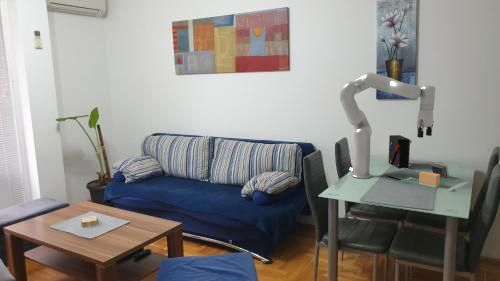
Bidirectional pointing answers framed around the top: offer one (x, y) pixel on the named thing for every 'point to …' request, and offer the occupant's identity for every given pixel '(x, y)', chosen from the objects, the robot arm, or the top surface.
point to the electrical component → (399, 151)
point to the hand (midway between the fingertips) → (424, 136)
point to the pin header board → (416, 181)
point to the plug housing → (429, 178)
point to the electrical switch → (440, 169)
